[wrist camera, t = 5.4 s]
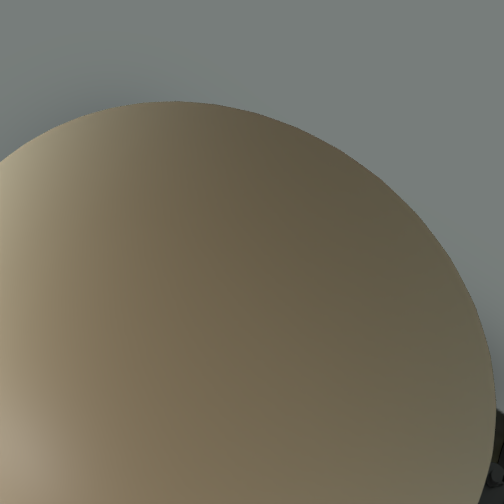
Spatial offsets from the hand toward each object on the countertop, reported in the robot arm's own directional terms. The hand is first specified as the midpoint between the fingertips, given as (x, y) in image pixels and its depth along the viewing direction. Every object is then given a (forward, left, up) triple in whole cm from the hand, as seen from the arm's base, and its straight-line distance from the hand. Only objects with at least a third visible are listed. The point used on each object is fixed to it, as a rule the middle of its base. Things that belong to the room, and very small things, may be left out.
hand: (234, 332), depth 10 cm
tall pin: (0, +3, -9) cm, 9 cm away
